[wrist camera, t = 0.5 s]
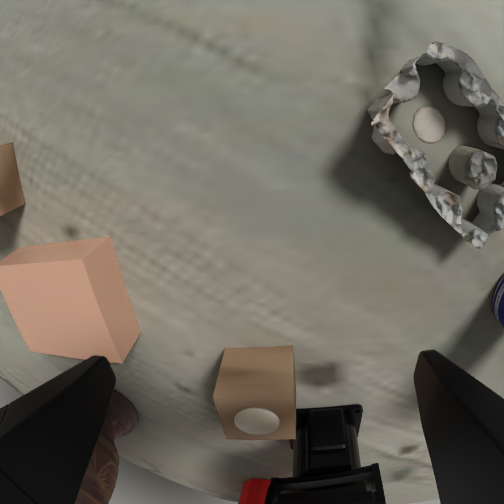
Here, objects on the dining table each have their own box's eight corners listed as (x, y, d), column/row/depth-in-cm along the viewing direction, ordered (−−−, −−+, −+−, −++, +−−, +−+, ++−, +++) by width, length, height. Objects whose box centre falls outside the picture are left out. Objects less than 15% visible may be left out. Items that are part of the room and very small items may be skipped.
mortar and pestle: (54, 397, 30) (-20, 521, 12) (44, 349, 26) (-59, 493, 8) (141, 436, 30) (86, 583, 12) (145, 395, 27) (68, 581, 9)
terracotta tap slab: (142, 330, 24) (122, 363, 20) (52, 325, 25) (29, 350, 22) (112, 234, 21) (82, 259, 17) (22, 246, 22) (-9, 266, 18)
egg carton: (346, 119, 16) (362, 120, 13) (424, 40, 14) (454, 25, 10) (453, 241, 18) (481, 268, 15) (517, 168, 16) (554, 182, 12)
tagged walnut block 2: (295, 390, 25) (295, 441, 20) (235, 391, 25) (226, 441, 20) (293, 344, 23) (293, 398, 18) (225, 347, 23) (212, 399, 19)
